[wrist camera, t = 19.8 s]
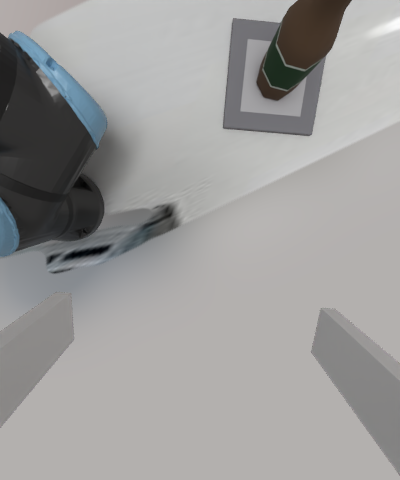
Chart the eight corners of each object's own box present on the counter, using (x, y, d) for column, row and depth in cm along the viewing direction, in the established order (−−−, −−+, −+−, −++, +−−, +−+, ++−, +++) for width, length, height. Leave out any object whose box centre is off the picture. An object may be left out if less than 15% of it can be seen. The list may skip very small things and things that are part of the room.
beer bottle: (303, 74, 40) (457, -96, 16) (277, 111, 41) (385, 3, 18) (272, 46, 39) (389, -180, 15) (246, 85, 40) (317, -68, 17)
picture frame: (223, 128, 43) (223, 126, 42) (232, 22, 39) (233, 17, 38) (309, 135, 43) (312, 134, 42) (327, 32, 39) (331, 27, 38)
